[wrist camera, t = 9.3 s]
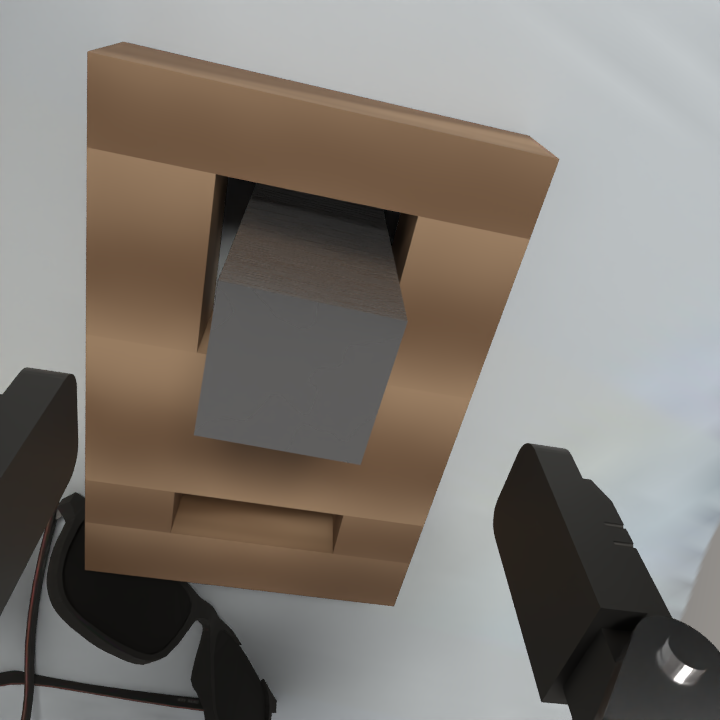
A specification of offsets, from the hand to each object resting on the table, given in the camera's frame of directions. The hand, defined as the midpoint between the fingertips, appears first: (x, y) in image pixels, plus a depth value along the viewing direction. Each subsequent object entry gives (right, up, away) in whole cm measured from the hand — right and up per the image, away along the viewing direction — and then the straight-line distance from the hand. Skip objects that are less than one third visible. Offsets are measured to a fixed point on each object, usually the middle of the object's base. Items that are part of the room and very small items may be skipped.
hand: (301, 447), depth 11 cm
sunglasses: (-12, -12, +20) cm, 26 cm away
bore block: (-2, +2, +11) cm, 12 cm away
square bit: (-1, +5, +9) cm, 11 cm away
